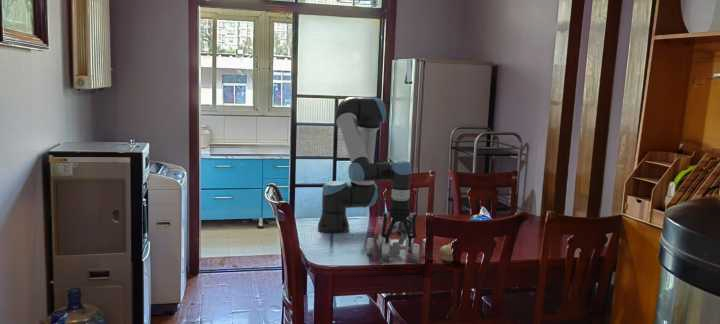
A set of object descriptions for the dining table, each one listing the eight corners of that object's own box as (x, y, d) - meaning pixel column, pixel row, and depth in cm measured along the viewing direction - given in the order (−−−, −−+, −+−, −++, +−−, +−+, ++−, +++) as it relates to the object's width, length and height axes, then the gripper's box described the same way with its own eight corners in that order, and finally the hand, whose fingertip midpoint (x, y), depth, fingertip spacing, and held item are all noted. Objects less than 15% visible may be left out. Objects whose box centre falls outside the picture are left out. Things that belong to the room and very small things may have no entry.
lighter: (392, 256, 219) (393, 237, 218) (389, 254, 220) (390, 236, 219) (405, 253, 223) (406, 234, 222) (402, 252, 225) (403, 233, 224)
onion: (461, 263, 215) (462, 246, 214) (442, 263, 213) (443, 246, 212) (453, 257, 222) (454, 240, 222) (435, 257, 221) (436, 241, 220)
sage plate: (378, 248, 232) (378, 245, 232) (376, 241, 242) (376, 239, 242) (410, 248, 233) (410, 245, 233) (407, 242, 243) (407, 239, 242)
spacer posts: (367, 262, 212) (368, 244, 211) (364, 249, 229) (365, 233, 229) (433, 263, 213) (434, 245, 212) (425, 250, 231) (425, 234, 230)
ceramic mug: (408, 230, 266) (408, 214, 265) (413, 234, 258) (413, 218, 257) (387, 230, 263) (387, 215, 262) (391, 235, 255) (392, 219, 254)
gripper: (376, 200, 214) (374, 256, 217) (425, 201, 215) (422, 257, 218) (375, 196, 222) (373, 250, 225) (422, 197, 223) (419, 251, 226)
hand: (397, 253), depth 222 cm, fingers closed on lighter, 7 cm apart
